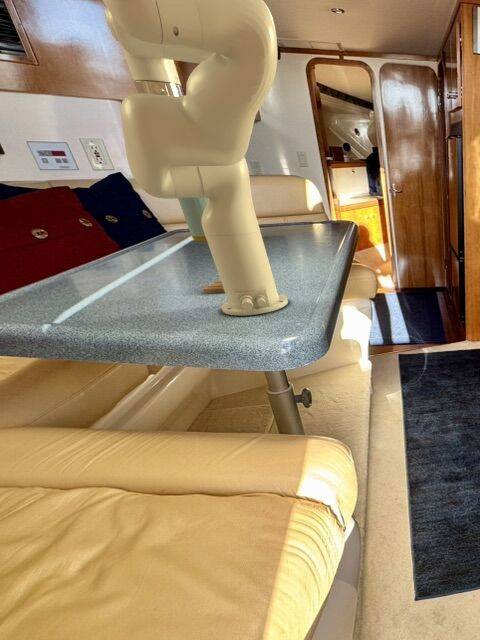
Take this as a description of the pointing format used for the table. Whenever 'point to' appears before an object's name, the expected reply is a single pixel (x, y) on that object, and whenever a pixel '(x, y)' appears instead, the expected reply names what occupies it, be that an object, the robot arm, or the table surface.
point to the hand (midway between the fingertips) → (195, 191)
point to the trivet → (214, 288)
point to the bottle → (194, 215)
